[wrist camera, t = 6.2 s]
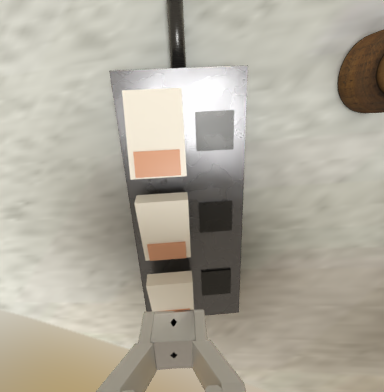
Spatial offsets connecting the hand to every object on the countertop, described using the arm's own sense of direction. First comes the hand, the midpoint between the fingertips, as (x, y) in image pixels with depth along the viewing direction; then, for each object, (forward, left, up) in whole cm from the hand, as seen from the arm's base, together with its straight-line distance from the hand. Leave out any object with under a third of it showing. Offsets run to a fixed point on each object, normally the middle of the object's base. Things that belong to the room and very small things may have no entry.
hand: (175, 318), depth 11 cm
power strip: (-1, -4, -14) cm, 14 cm away
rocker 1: (+1, -8, -8) cm, 12 cm away
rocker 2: (+1, +7, -8) cm, 11 cm away
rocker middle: (+1, -1, -8) cm, 8 cm away
